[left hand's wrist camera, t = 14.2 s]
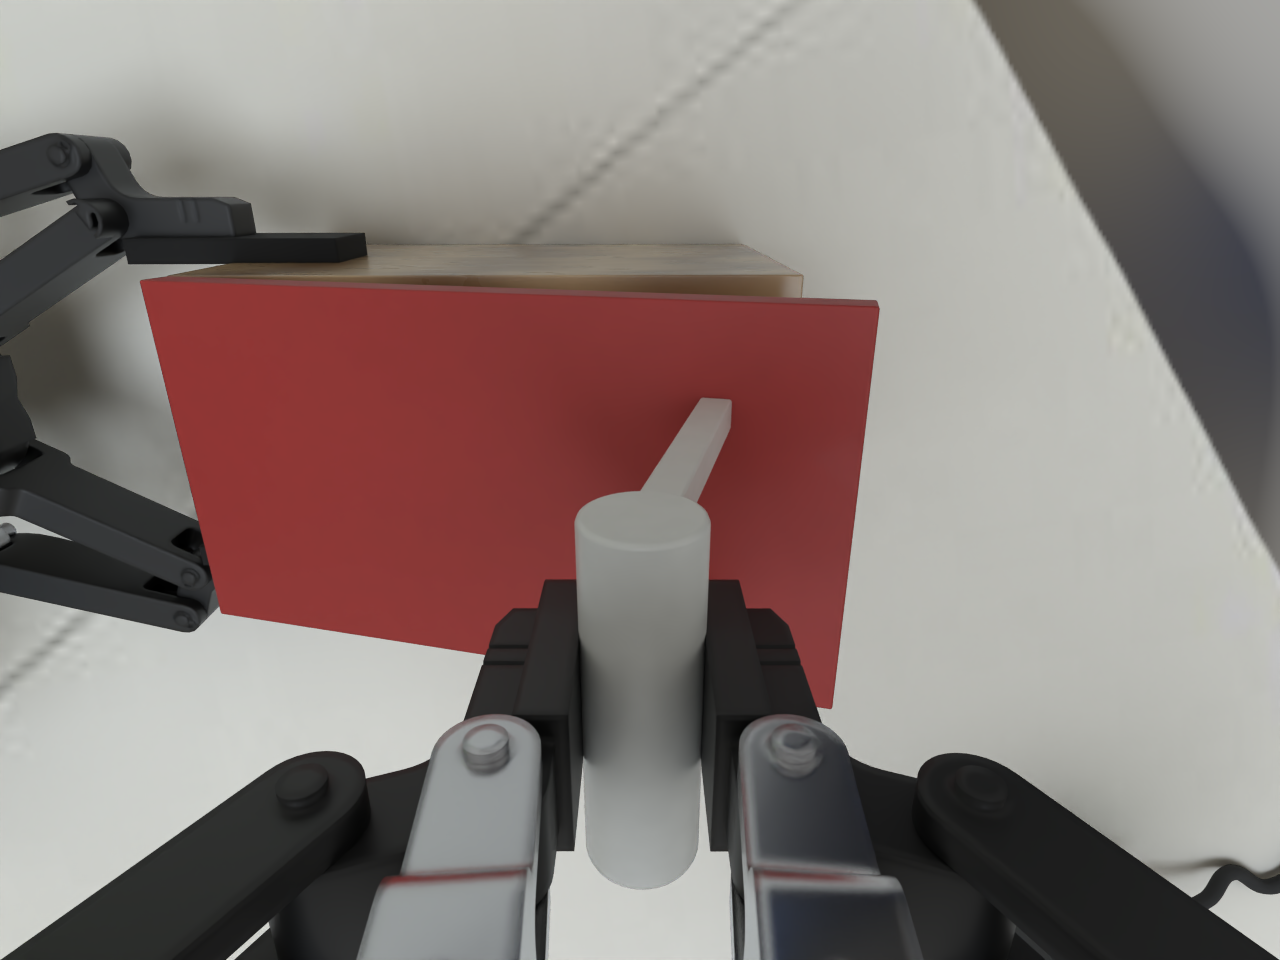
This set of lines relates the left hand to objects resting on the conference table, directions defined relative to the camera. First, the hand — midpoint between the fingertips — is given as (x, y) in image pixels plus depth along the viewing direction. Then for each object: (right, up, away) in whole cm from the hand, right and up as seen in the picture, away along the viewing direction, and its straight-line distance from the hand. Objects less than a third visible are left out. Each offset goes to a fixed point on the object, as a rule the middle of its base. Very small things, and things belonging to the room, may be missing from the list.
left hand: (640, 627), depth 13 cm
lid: (-4, +3, +7) cm, 8 cm away
